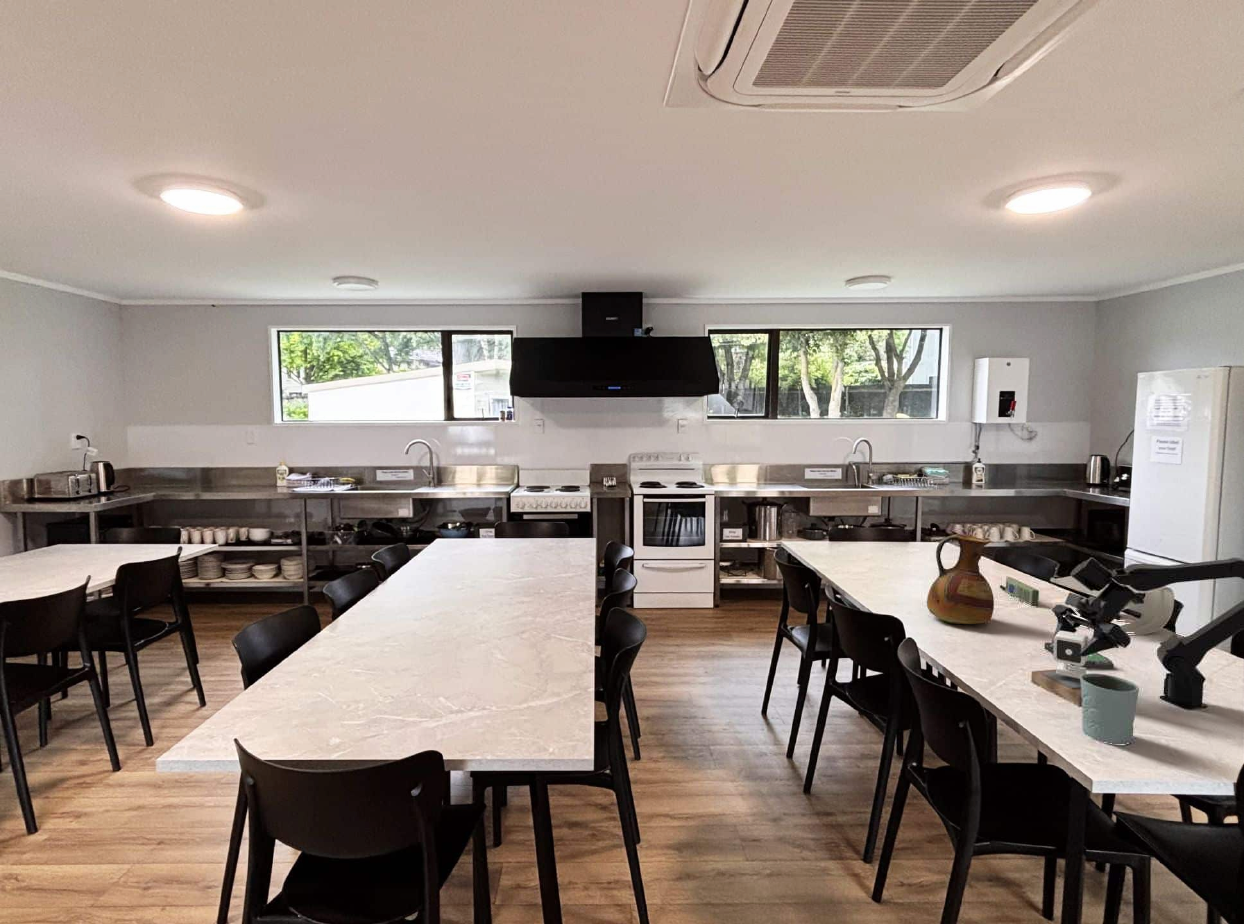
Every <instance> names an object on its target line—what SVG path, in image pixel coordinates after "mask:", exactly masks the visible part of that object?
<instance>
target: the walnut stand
mask: <svg viewBox="0 0 1244 924" xmlns="http://www.w3.org/2000/svg"><path fill="white" fill-rule="evenodd" d="M1056 671H1057V668H1056V669H1043V670H1032V671H1031V681H1030V683H1031V682H1033V683H1034V685H1035V684H1036V685H1035V686H1037V685H1038V686H1037V687H1039V686H1041V687H1042V688H1041V687H1040V688H1041V689H1043V688H1044V689H1043V690H1045V689H1046V690H1045V691H1047V690H1048V691H1047V692H1049V691H1051V692H1052V693H1051V692H1050V693H1051V694H1053V693H1055V694H1056V696H1057V695H1059V696H1060V697H1059V696H1058V697H1059V698H1061V697H1063V698H1064V700H1065V699H1067V700H1069V701H1071V702H1073V703H1074V704H1073V703H1072V704H1073V705H1075V704H1077V705H1078V707H1082V697H1081V695H1082V691H1081V680H1080V679H1079V678H1075V677H1070V676H1065V675H1061V674H1057V673H1056ZM1033 683H1032V684H1033ZM1055 694H1054V695H1055ZM1063 698H1062V699H1063ZM1067 700H1066V701H1067ZM1069 701H1068V702H1069ZM1071 702H1070V703H1071ZM1077 705H1076V706H1077Z"/></svg>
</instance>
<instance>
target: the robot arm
mask: <svg viewBox="0 0 1244 924" xmlns="http://www.w3.org/2000/svg"><path fill="white" fill-rule="evenodd" d="M1070 576H1072V577H1073V578H1074V579H1076V580H1077V581H1078V582H1080V583H1081V584H1082V585H1083V586H1085V587H1086V588H1087V589H1089V590H1090V591H1093V590H1096V591H1100V590H1102V589H1103V588H1105V587H1106V586H1107V585H1108V584H1109V585H1108V586H1107V587H1106V588H1105V589H1104V590H1103V591H1102V592H1101V593H1100V594H1099V595H1098V596H1097V597H1095V596H1092V595H1090V596H1089V597H1088V598H1087V597H1084V596H1082V595H1078V594H1076V593H1072V592H1068V595H1067V597H1066V600H1065V602H1064V604H1062V603H1061V604H1056V605H1055V606H1054V607H1053V608H1052V609H1051V611H1052V612H1053V613H1054V616H1055V617H1056V620H1057V625H1056V629H1055V632H1054V634H1053V637H1052V639H1051V643H1054V637H1055V636H1056V635H1057V633H1058V632H1059V631H1066V632H1072V633H1077V632H1078V630H1077V629H1078V628H1080V627H1081V626H1080V625H1083V626H1086V627H1088V628H1091V629H1093V630H1094V631H1093V630H1092V631H1093V634H1092V637H1091V638H1090V639H1088V643H1087V644H1086V645H1085V647H1083V649H1082V650H1081V652H1080V653H1079V654H1080V655H1081V656H1082V657H1084V656H1087V655H1090V654H1094V653H1099V652H1103V651H1107V650H1111V649H1119V647H1121V648H1123V649H1126V648H1128V646H1129V645H1130V644H1131V642H1132V641H1131V639H1132V637H1131V636H1129V635H1128V634H1127V633H1126V632H1125V631H1124V630H1123V629H1122V628H1121V627H1120V626H1119V625H1117V624H1114V623H1111V622H1112V621H1113V620H1114V619H1116V620H1120V619H1123V618H1122V616H1121V615H1120V614H1121V613H1122V612H1123V611H1124V610H1123V609H1124V608H1125V607H1126V606H1127V605H1128V604H1129V603H1130V602H1131V601H1132V602H1133V603H1134V604H1143V603H1144V600H1143V593H1135V592H1134V591H1132V590H1131V589H1130V588H1128V587H1127V586H1126V585H1128V586H1130V587H1131V588H1133V589H1135V590H1137V591H1149V590H1153V589H1157V588H1161V587H1164V586H1165V587H1167V586H1169V585H1172V584H1176V583H1186V582H1199V581H1209V580H1219V579H1220V580H1221V579H1229V578H1230V579H1232V578H1240V579H1242V580H1244V559H1243V558H1241V557H1231V558H1227V559H1219V560H1217V559H1216V560H1210V561H1209V560H1208V561H1199V562H1189V563H1180V564H1171V565H1167V564H1166V565H1165V564H1163V565H1162V564H1154V563H1153V564H1152V563H1132V564H1128V565H1127V566H1126V567H1125V568H1117V569H1115V568H1114V569H1107V568H1106V567H1105V566H1103V565H1102V564H1100V563H1099V562H1098V561H1097V560H1096V559H1095V558H1094V557H1093V556H1092V557H1089V558H1088V559H1087V560H1085V561H1083V562H1082V563H1078V565H1076V566H1075V568H1074V569H1073V570H1071V572H1070ZM1114 580H1115V581H1116V582H1115V581H1114ZM1118 583H1119V584H1118ZM1120 584H1122V585H1120ZM1069 606H1071V607H1069ZM1072 607H1073V608H1075V610H1074V609H1072ZM1122 610H1123V611H1122ZM1121 611H1122V612H1121ZM1075 612H1078V613H1079V614H1080V616H1078V615H1077V614H1076V613H1075ZM1242 630H1244V599H1243V600H1242V601H1240V602H1239V603H1237V604H1236V605H1234V606H1233V607H1231V608H1229V609H1227V610H1226V611H1225V612H1223V613H1222V614H1220V615H1219V616H1218V617H1216V618H1215V619H1213V620H1211V621H1210V622H1208V623H1207V624H1206V625H1203V626H1202V627H1201V628H1199V629H1197V630H1196V631H1194V632H1193V633H1191V634H1190V635H1187V636H1184V637H1178V636H1177V634H1176V633H1174V634H1172V635H1171V636H1170V637H1168V639H1166V640H1164V641H1160V642H1159V645H1160V646H1159V647H1158V648H1157V649H1156V656H1157V659H1158V660H1159V662H1160V663H1161V665H1162V667H1163V668H1164V669H1165V670H1166V671H1168V673H1165V678H1163V695H1159V699H1161V700H1163V701H1166V702H1168V703H1171V704H1173V705H1175V706H1177V707H1180V708H1182V709H1185V710H1192V709H1194V710H1195V709H1203V708H1208V705H1207V703H1204V702H1203V697H1204V683H1205V681H1206V679H1207V678H1206V677H1205V676H1204V675H1203V673H1201V671H1200V670H1199V669H1198V666H1199V664H1200V663H1201V662H1202V660H1203V659H1204V657H1206V654H1207V653H1208V652H1210V651H1211V650H1212V649H1214V648H1216V647H1217V646H1219V645H1220V644H1222V643H1224V642H1225V641H1226V640H1228V639H1229V638H1231V637H1233V636H1234V635H1236V634H1237V633H1239V632H1241V631H1242Z"/></svg>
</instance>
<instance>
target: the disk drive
mask: <svg viewBox="0 0 1244 924" xmlns="http://www.w3.org/2000/svg"><path fill="white" fill-rule="evenodd" d="M1043 649H1046V650H1048V651H1049V652H1051V653H1052V654H1051V653H1050V654H1051V655H1053V653H1054V643H1053V642H1044V647H1043ZM1046 650H1045V651H1046ZM1048 651H1047V652H1048ZM1049 652H1048V653H1049ZM1070 665H1072V667H1073V666H1075V665H1073V664H1070ZM1078 667H1083V668H1098V670H1114V667H1115V664H1114V663H1113V660H1110V659H1109V658H1108V657H1106V656H1104V655H1102V654H1101V653H1099V652H1097V653H1094V654H1090V655H1088V659H1087V660H1086V662H1085V664H1084V665H1083V666H1078ZM1100 668H1101V669H1100Z"/></svg>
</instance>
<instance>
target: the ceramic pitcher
mask: <svg viewBox="0 0 1244 924" xmlns="http://www.w3.org/2000/svg"><path fill="white" fill-rule="evenodd" d="M950 541H955V542H957V543H958V545H959V556H958V560H957V562H956V563H955V565H953V566H952V567H950V568H945V567H944V564H943V562H942V558H941V555H942V554H941V553H942V551H943V547H944V546H945V544H947V543H948V542H950ZM990 542H991V540H989V539H985V538H984V539H983V538H980V537H976V536H972V535H969V534H963V533H954V534H952V535H949V536H947V537H945V538H943V539H942V540H940V541H939V542H938V545H937V547H936V551H935V558H936V564H937V569H938V572H939V573H938V574H939V575H938V576H937V578H936V579H935V580H934V582H933V583H932V584H931V586H930V588H929V591H928V594H927V599H926V607H927V610H928V611H929V613H930V614H932V615H933V616H935V617H936V618H938V619H940V620H942V621H943V622H944V621H945V622H947V623H950V624H955V625H956V624H957V625H972V624H973V623H974V624H985V623H988V622H990V621H991V620H992V617H993V615H994V609H995V599H994V594H993V593H994V592H993V589H992V587H991V585H990V583H989V582H988V580H987V578H986V577H985V576H984V575H983V574H982V573H981V572H980V566H979V562H980V560H981V558H982V550H983V548H984V547H985V546H987V545H988V544H990Z"/></svg>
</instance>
